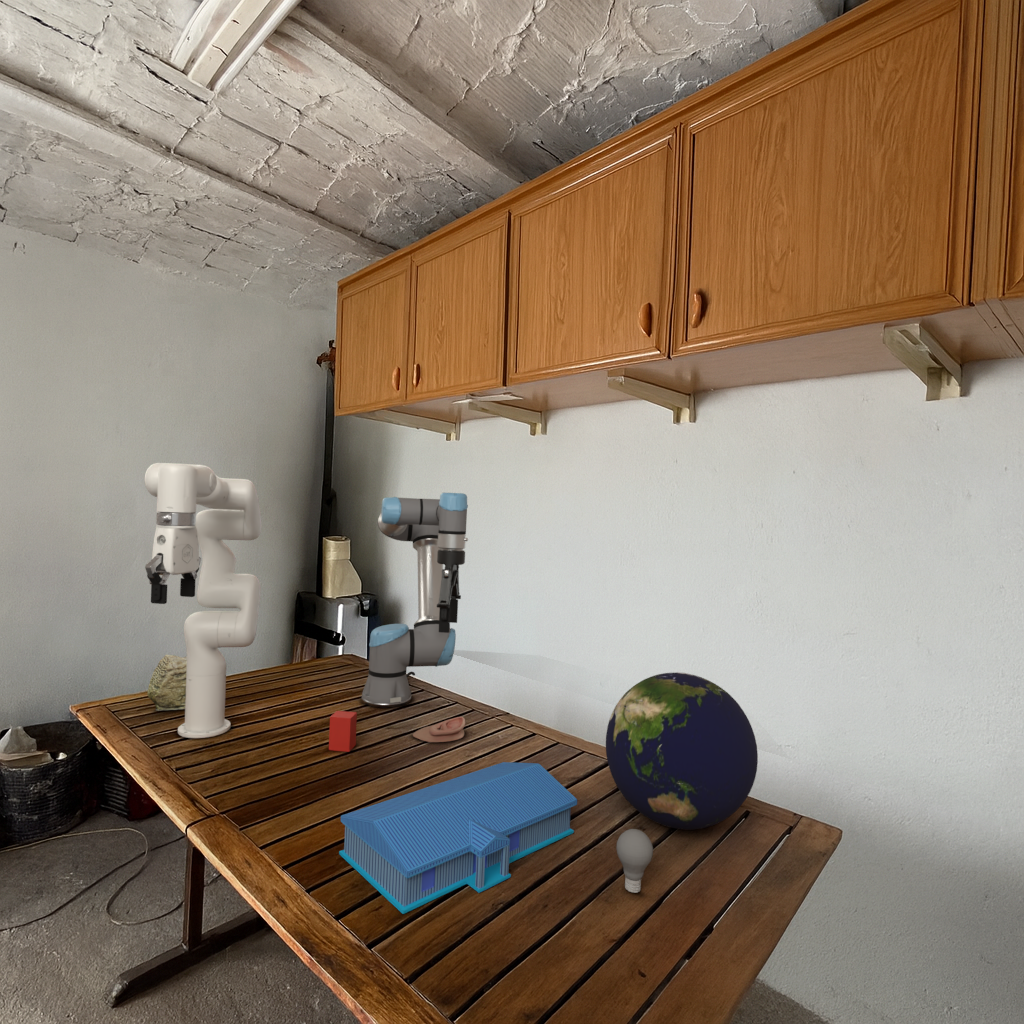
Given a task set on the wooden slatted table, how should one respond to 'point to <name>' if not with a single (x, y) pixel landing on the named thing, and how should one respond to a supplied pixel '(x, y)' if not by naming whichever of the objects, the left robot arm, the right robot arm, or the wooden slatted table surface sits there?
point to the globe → (681, 751)
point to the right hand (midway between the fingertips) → (448, 627)
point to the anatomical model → (442, 731)
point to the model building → (456, 832)
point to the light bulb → (634, 857)
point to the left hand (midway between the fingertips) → (173, 599)
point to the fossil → (169, 683)
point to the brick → (342, 731)
